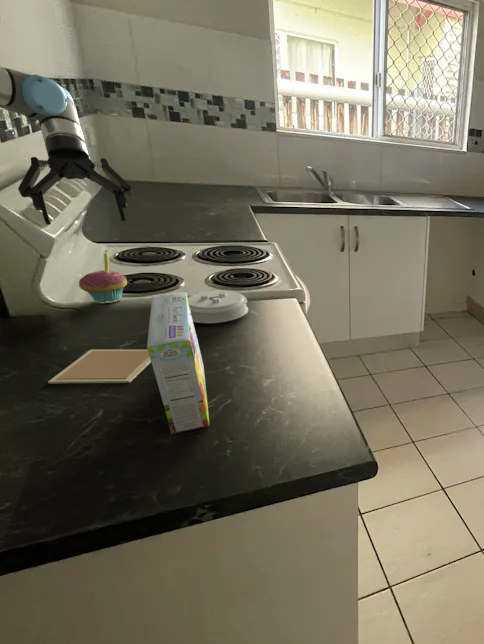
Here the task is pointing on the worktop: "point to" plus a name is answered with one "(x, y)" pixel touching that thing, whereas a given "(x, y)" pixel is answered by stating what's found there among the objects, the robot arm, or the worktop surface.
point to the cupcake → (104, 284)
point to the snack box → (177, 362)
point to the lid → (217, 306)
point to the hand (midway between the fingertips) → (86, 219)
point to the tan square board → (105, 367)
